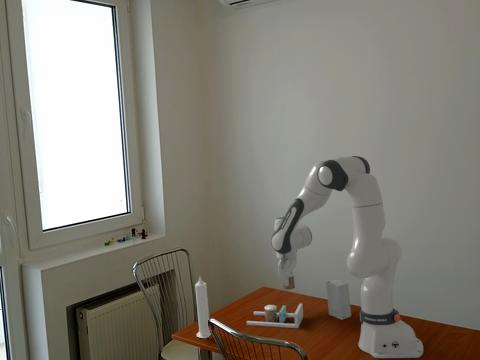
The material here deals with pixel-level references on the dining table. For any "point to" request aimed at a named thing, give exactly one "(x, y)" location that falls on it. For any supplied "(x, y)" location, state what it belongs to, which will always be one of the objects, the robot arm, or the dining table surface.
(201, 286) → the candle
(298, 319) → the lane
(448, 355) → the dining table surface
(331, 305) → the skincare box
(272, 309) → the jar front
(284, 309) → the plate
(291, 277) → the jar
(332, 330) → the dining table surface
